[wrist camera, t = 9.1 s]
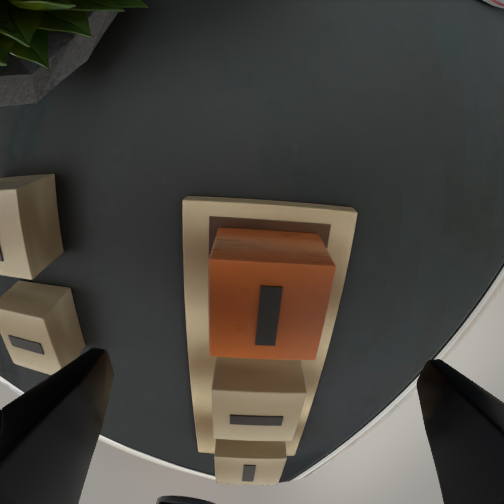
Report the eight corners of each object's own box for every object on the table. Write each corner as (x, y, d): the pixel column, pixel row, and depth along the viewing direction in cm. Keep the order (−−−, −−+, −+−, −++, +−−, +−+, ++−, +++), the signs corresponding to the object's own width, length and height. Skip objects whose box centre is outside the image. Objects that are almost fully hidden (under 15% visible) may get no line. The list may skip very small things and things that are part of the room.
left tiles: (86, 345, 16) (65, 380, 13) (36, 334, 16) (12, 365, 13) (54, 173, 12) (14, 189, 9) (0, 177, 12) (-39, 193, 9)
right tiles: (275, 449, 19) (277, 486, 16) (218, 447, 19) (215, 484, 16) (299, 348, 15) (307, 394, 12) (217, 344, 15) (211, 391, 12)
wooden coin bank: (305, 316, 14) (316, 362, 11) (216, 311, 14) (208, 358, 11) (318, 233, 12) (337, 267, 10) (217, 226, 12) (207, 260, 10)
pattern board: (293, 447, 20) (294, 456, 19) (199, 443, 20) (198, 453, 19) (352, 207, 13) (359, 213, 12) (186, 195, 13) (181, 200, 12)
